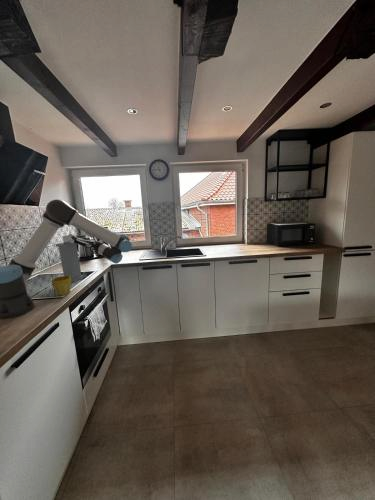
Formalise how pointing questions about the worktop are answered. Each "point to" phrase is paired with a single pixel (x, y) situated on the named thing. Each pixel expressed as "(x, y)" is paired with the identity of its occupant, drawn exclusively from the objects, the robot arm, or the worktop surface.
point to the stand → (70, 261)
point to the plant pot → (62, 284)
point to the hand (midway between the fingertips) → (77, 233)
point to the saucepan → (70, 239)
